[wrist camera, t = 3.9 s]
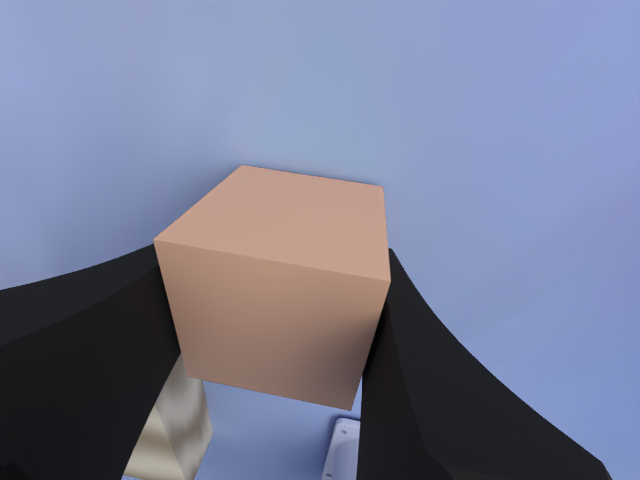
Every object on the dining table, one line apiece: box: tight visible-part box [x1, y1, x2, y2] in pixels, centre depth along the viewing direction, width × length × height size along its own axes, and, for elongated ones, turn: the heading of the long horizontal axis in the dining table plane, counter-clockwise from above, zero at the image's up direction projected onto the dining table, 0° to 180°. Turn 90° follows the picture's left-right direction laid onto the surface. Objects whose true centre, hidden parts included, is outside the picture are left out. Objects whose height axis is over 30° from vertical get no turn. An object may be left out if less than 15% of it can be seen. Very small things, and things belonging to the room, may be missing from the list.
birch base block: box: [123, 353, 213, 480], centre depth 19 cm, size 12×12×4 cm
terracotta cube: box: [153, 165, 391, 411], centre depth 9 cm, size 5×5×5 cm
